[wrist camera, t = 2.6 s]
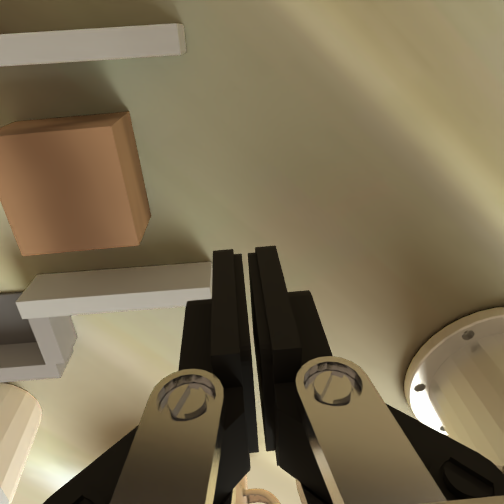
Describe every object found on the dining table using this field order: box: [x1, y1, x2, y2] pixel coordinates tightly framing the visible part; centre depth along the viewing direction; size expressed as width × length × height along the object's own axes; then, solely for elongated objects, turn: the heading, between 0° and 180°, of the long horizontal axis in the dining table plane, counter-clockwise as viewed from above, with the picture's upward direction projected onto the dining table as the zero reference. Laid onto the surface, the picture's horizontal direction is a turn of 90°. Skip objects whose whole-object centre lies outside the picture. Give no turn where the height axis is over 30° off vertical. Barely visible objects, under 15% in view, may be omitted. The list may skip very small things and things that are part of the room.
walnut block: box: [0, 111, 151, 256], centre depth 21 cm, size 6×6×4 cm
